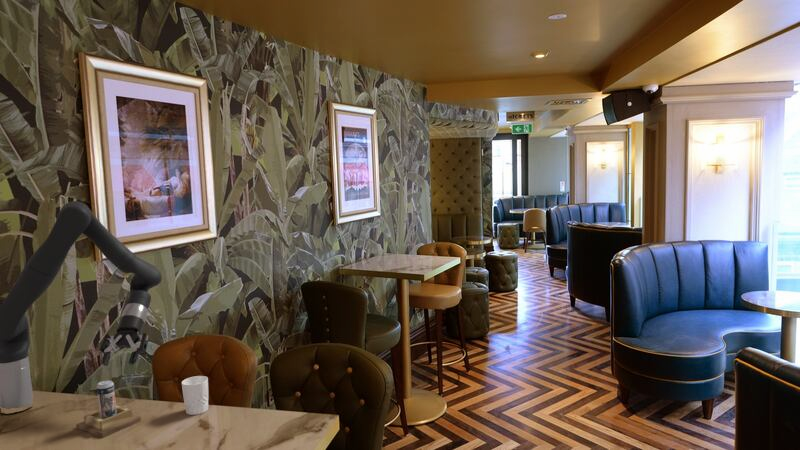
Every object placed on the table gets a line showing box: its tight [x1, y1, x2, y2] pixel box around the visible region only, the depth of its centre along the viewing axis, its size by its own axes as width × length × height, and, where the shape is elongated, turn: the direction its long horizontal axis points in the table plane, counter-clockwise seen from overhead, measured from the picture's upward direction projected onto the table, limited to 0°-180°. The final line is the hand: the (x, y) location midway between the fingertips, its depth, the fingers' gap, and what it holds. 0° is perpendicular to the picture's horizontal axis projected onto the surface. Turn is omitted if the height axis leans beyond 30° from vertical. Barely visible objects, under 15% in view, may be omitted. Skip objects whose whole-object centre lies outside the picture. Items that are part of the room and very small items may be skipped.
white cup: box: [181, 375, 209, 416], centre depth 175 cm, size 8×8×10 cm
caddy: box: [75, 404, 142, 438], centre depth 168 cm, size 14×12×4 cm
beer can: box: [96, 379, 117, 420], centre depth 168 cm, size 5×5×12 cm
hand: (117, 364), depth 175 cm, fingers open, 8 cm apart
